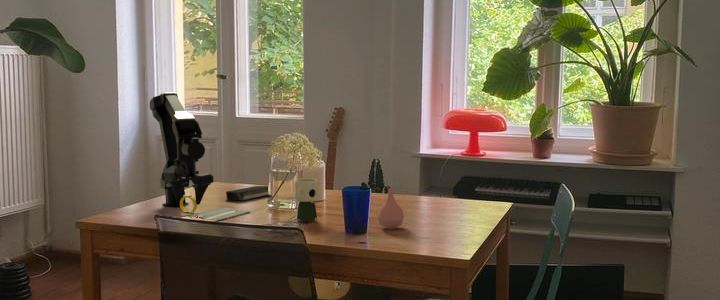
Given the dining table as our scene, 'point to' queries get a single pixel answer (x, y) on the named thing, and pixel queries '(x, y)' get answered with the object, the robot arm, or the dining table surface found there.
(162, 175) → the robot arm
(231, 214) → the subfloor panel
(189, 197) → the watch
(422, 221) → the dining table surface
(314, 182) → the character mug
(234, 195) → the black sponge
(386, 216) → the pink teardrop shape
